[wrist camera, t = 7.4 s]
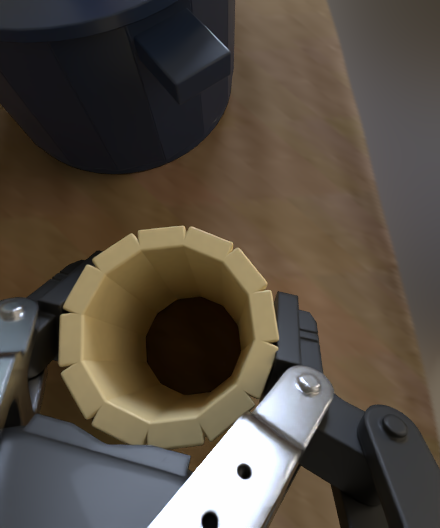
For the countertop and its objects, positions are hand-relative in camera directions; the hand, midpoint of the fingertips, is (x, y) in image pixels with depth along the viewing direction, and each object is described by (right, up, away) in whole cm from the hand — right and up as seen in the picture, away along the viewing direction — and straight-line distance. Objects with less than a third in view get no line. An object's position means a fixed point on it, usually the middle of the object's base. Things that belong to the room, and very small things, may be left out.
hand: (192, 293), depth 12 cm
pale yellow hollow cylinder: (0, -3, +4) cm, 5 cm away
